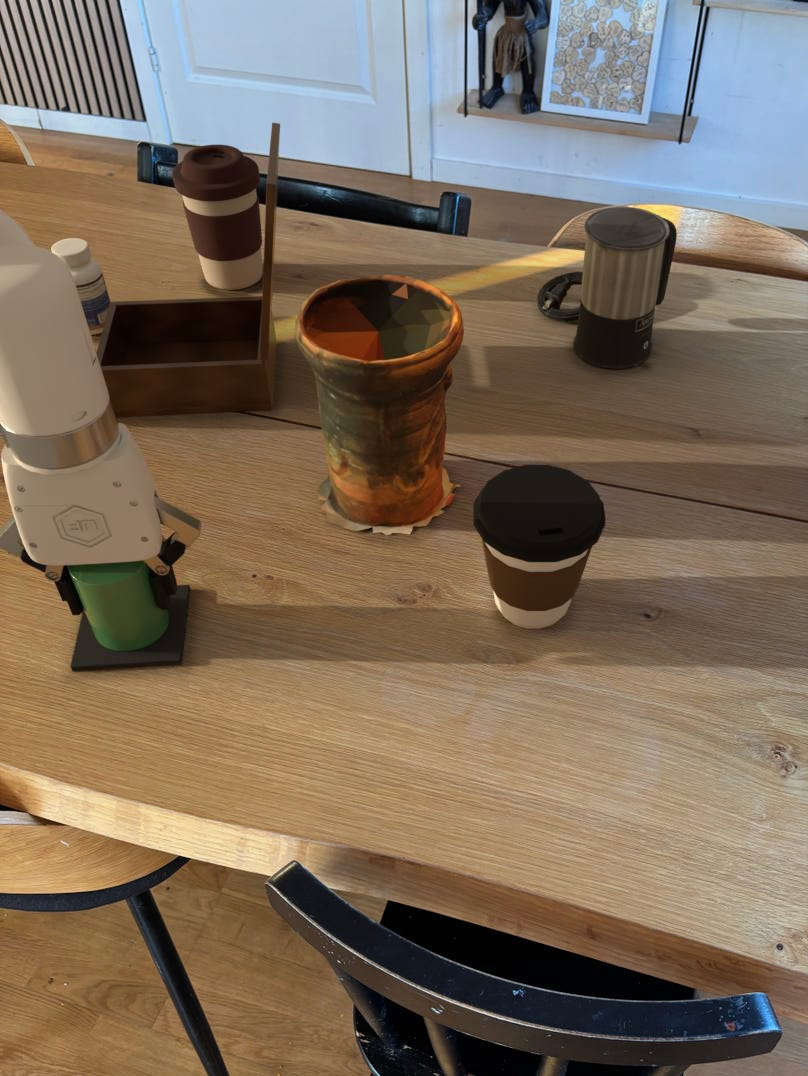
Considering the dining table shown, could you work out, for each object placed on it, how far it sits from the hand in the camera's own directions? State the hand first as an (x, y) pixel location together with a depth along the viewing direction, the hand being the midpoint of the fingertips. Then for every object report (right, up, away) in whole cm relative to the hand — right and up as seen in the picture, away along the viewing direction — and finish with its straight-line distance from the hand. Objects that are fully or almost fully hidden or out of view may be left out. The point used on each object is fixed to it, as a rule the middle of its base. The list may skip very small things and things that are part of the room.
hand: (123, 599), depth 86 cm
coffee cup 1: (-1, +42, +43) cm, 60 cm away
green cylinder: (0, -2, +2) cm, 3 cm away
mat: (0, -2, +3) cm, 4 cm away
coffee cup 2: (+35, 0, +6) cm, 35 cm away
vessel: (+21, +11, +15) cm, 28 cm away
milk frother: (+43, +33, +36) cm, 65 cm away
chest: (-2, +26, +28) cm, 38 cm away
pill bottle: (-16, +34, +35) cm, 51 cm away
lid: (+8, +37, +17) cm, 42 cm away
